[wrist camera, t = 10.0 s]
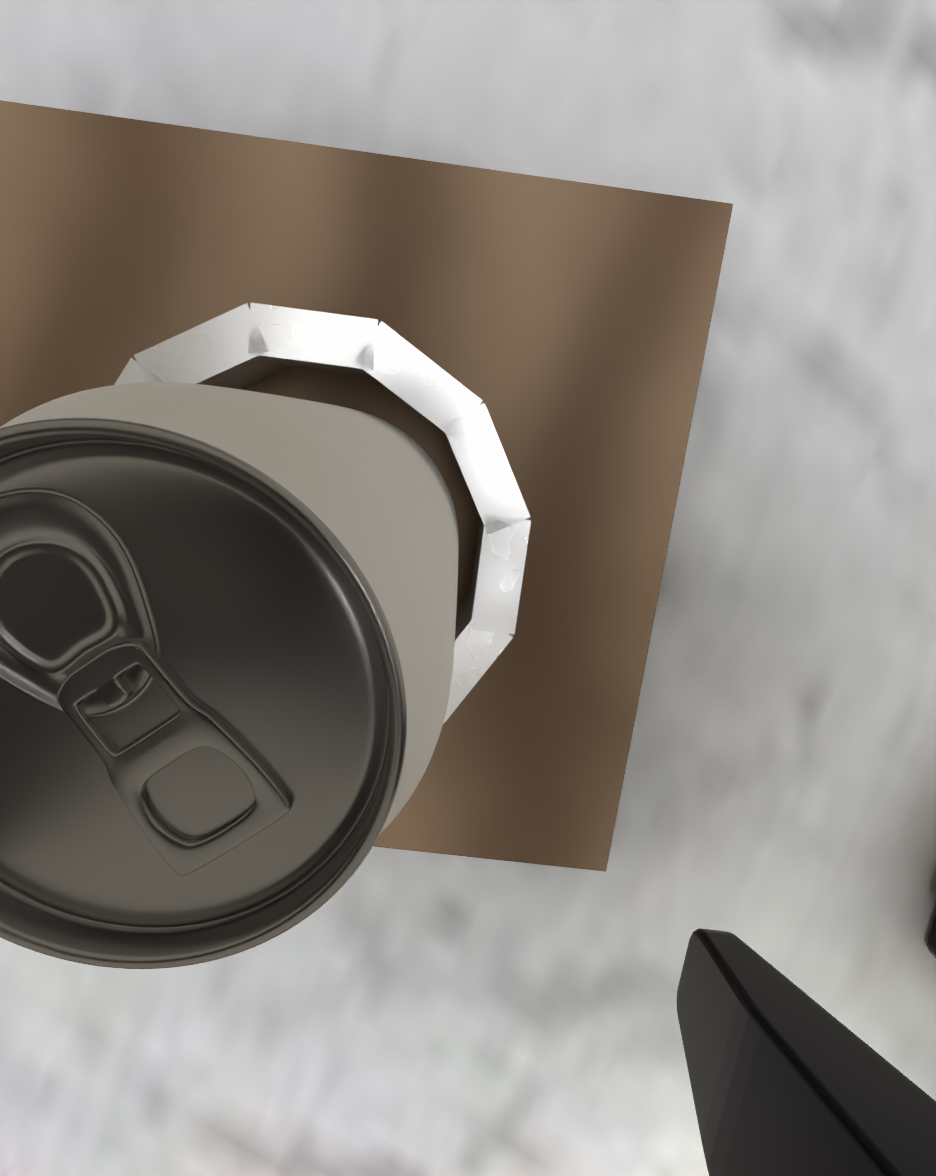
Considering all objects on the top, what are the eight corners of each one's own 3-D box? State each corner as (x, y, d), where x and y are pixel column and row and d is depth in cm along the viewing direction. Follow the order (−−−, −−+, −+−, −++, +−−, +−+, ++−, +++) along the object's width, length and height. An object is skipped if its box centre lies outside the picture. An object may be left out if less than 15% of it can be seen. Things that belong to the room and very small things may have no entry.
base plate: (717, 216, 18) (732, 203, 17) (599, 851, 22) (605, 871, 21) (-11, 114, 17) (-39, 95, 16) (5, 786, 21) (-18, 803, 20)
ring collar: (541, 357, 17) (556, 343, 15) (488, 729, 20) (492, 783, 17) (133, 303, 17) (66, 278, 14) (126, 688, 19) (66, 735, 16)
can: (365, 354, 17) (165, 204, 6) (506, 568, 19) (579, 807, 7) (160, 498, 18) (-390, 627, 6) (308, 695, 19) (71, 1103, 8)
